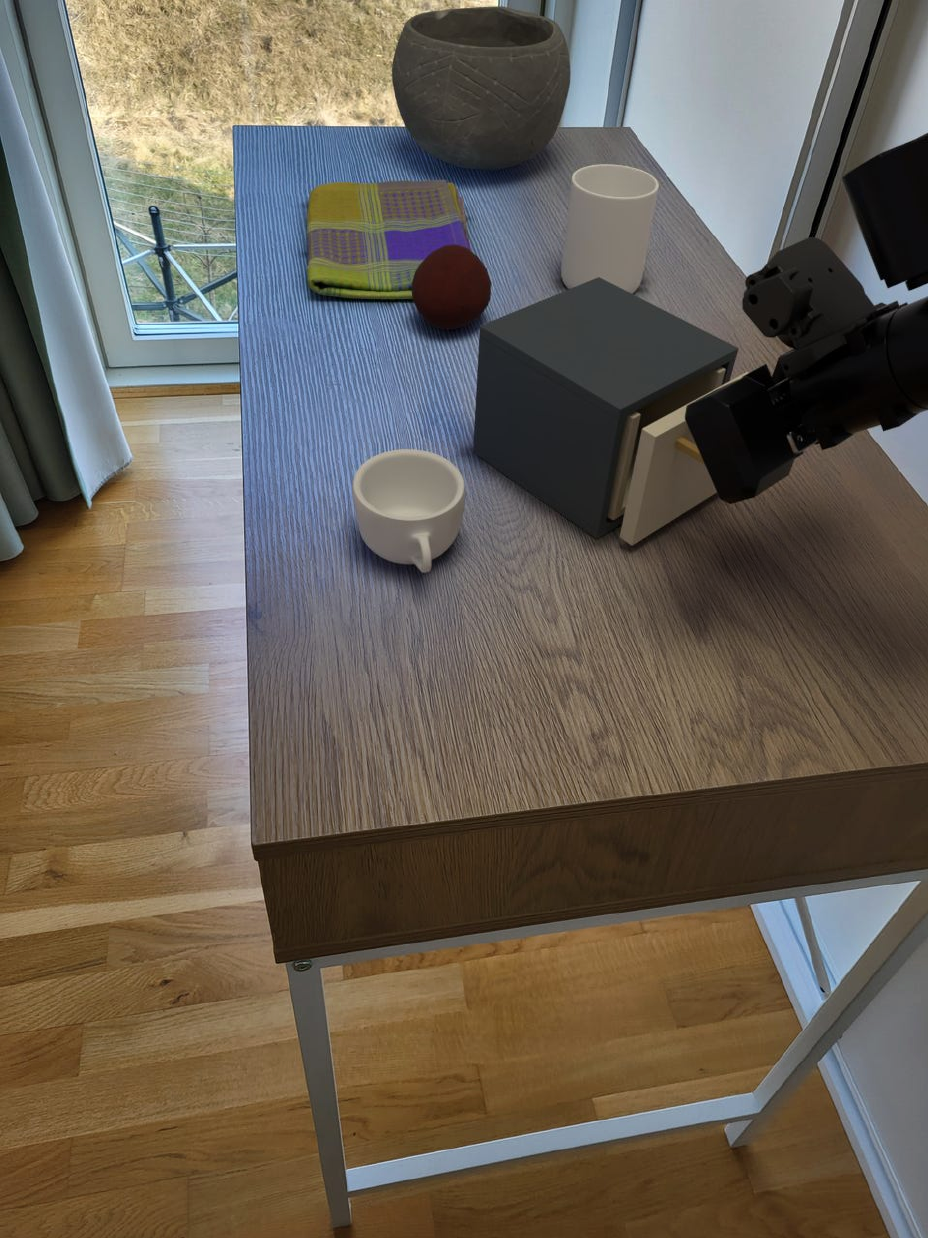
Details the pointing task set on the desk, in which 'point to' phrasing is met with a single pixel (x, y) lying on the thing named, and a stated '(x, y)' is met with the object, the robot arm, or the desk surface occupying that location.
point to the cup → (608, 225)
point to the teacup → (409, 505)
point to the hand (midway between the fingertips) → (711, 434)
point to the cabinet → (580, 390)
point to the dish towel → (378, 235)
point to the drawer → (661, 462)
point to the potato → (451, 287)
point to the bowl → (481, 84)
